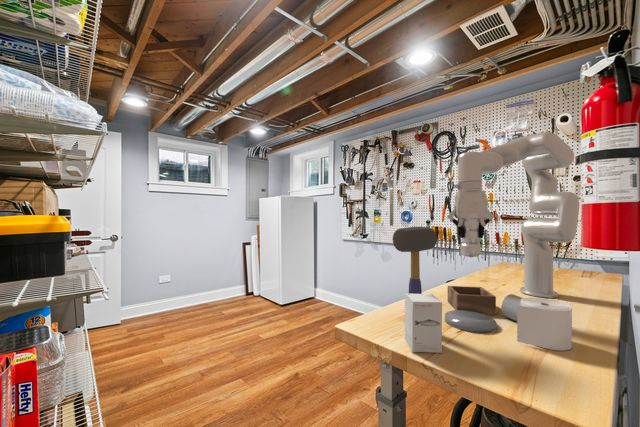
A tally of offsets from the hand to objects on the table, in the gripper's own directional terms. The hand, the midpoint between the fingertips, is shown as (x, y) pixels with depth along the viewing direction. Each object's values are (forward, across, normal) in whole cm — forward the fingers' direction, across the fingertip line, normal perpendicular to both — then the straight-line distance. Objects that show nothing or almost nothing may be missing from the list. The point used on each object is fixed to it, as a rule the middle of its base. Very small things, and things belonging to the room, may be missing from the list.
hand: (470, 237), depth 99 cm
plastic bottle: (+7, 0, 0) cm, 7 cm away
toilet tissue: (+25, +10, -25) cm, 37 cm away
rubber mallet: (+25, -22, -21) cm, 40 cm away
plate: (+25, -6, -15) cm, 30 cm away
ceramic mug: (+26, +12, -11) cm, 30 cm away
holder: (+25, 0, 0) cm, 25 cm away
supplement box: (+25, -22, -33) cm, 47 cm away
